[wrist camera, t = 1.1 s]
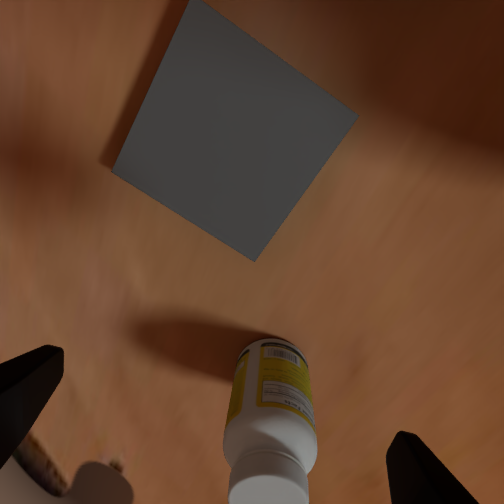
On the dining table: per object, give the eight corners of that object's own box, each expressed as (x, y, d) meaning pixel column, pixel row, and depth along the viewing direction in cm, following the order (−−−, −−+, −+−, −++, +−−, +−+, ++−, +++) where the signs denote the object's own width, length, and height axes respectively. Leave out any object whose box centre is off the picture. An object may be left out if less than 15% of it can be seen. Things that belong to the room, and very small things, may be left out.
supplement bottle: (255, 400, 26) (240, 545, 17) (225, 348, 25) (191, 478, 16) (319, 382, 25) (339, 527, 16) (292, 326, 24) (297, 452, 15)
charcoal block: (351, 116, 19) (359, 115, 17) (256, 250, 22) (254, 262, 21) (202, 7, 18) (192, -7, 16) (126, 167, 21) (111, 171, 19)
